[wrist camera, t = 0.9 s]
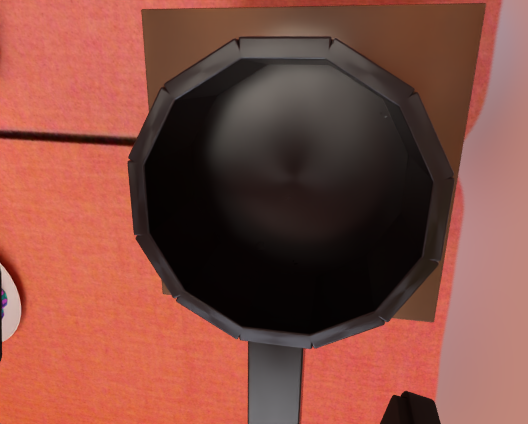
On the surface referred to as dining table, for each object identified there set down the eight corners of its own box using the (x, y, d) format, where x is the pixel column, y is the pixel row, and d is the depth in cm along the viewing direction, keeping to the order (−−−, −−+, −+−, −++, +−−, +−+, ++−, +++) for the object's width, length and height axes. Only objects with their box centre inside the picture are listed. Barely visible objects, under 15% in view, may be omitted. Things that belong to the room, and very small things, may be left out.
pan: (178, 48, 17) (114, 36, 12) (436, 49, 15) (479, 35, 10) (196, 427, 23) (158, 517, 18) (379, 457, 21) (390, 564, 16)
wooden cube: (416, 39, 27) (486, 2, 14) (395, 221, 31) (433, 323, 18) (229, 40, 29) (140, 8, 16) (232, 210, 34) (162, 294, 20)
